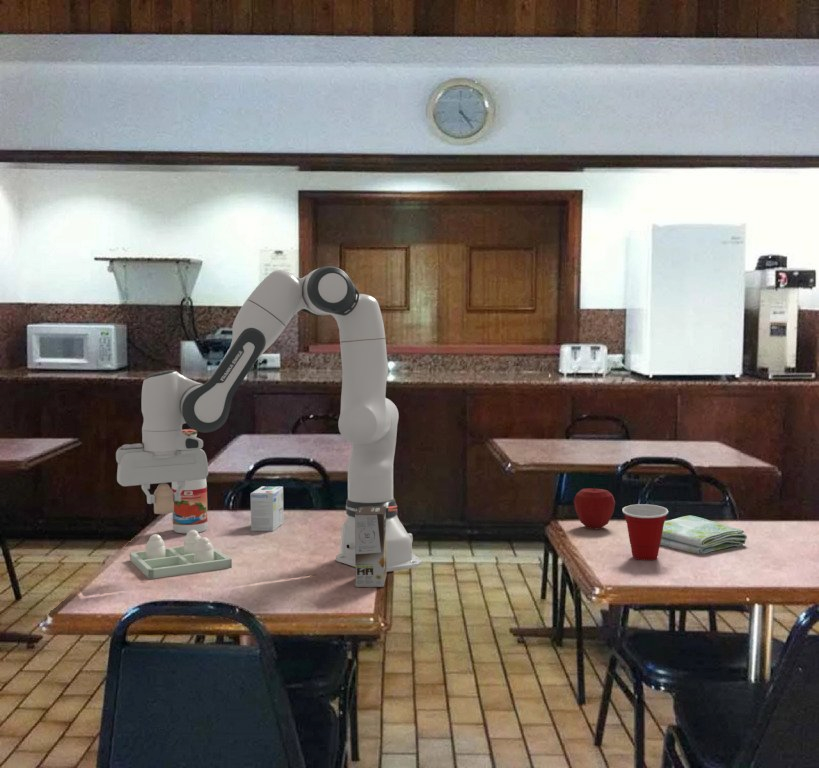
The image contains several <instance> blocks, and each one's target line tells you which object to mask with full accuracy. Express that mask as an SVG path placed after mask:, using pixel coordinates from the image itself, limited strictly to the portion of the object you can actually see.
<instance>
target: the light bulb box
mask: <svg viewBox="0 0 819 768" xmlns="http://www.w3.org/2000/svg"><path fill="white" fill-rule="evenodd" d="M249 498H250V531H251V532H274V531H275V530H276V529H278V528H279V527H280V526H282V525H283V524H284V486H280V485H279V486H268V485H267V486H263V485H262V486H260V487H259V488H257V489H255V490H254V491H252V492H250V497H249Z"/></svg>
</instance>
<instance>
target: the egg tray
mask: <svg viewBox="0 0 819 768" xmlns="http://www.w3.org/2000/svg"><path fill="white" fill-rule="evenodd" d="M213 549H214V561H207V562H199V563H195V559H194V554H186V555H184V545H180V546H179V545H178V546H172V547H171V546H170V547H165V554H166V557H163V558H155V559H147V560H146V550H139V551H130V552H129V561H130V562H131V564H133V565H134V566H135V567H136V568H137V569H138V570H139V571H141V572H142V574H143V575H144V576H145V577H146V578H148V579H149V580H150V579H151V580H154V579H159V578H166V577H174V576H179V575H180V576H181V575H189V574H196V573H203V572H210V571H211V572H212V571H216V570H224V569H231V568H233V567H232V566H233V565H232V559H231V558H230V557H229V556H228V555H226V554H224V553H223V552H222V551H220V550H219V549H217V548H216V547H214V546H213Z"/></svg>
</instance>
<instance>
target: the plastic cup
mask: <svg viewBox="0 0 819 768" xmlns="http://www.w3.org/2000/svg"><path fill="white" fill-rule="evenodd" d="M622 513H623V516H624V518H625V522H626V527H627V532H628V533H627V534H628V539H629V544H630V548H631V550H630V551H631V555H632V558H633V559H635V560H639V561H654V560H657V559H658V556H659V551H660V550H659V549H660V543H661V537H662V531H663V526H664V522H665V521H666V518H667V515H668V514H669V510H668V508H667V507H664V506H660V505H656V504H647V503H645V504H643V503H641V504H640V503H639V504H638V503H637V504H630V505H627V506H624V507H622Z"/></svg>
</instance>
